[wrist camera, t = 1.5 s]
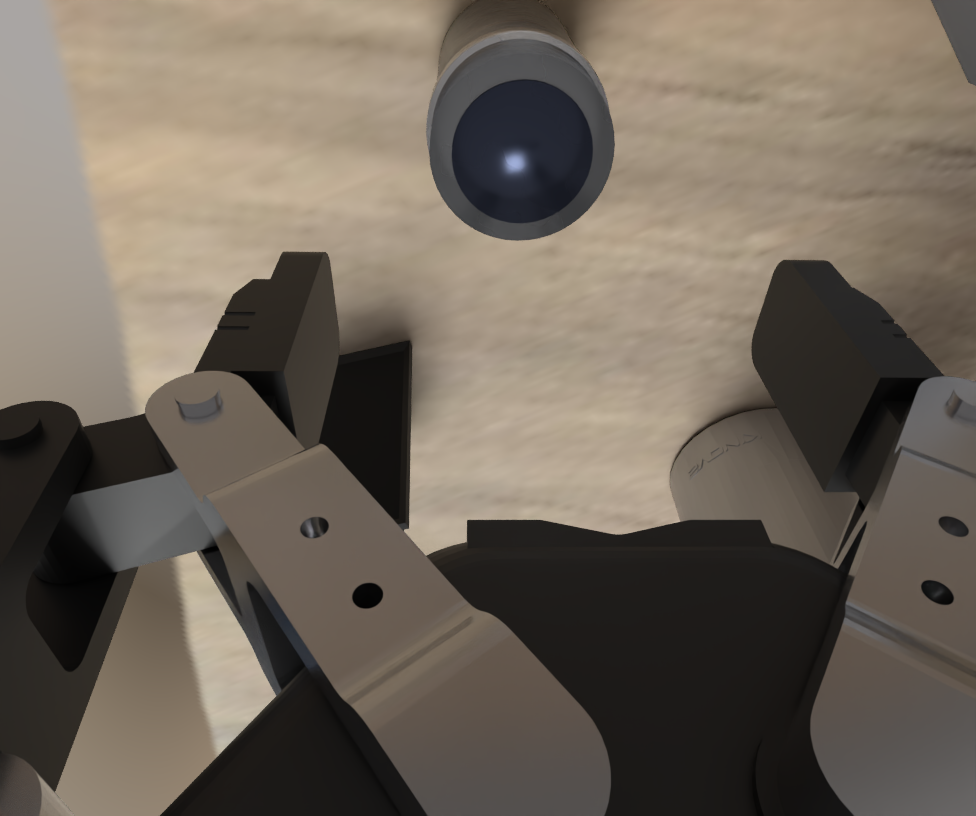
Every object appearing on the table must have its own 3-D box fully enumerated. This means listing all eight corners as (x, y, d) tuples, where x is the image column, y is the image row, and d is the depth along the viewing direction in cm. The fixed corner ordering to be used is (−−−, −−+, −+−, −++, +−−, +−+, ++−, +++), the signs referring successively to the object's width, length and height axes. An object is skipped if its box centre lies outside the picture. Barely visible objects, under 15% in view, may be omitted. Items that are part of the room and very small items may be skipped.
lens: (606, 73, 26) (660, 159, 19) (502, 170, 28) (514, 281, 21) (511, -50, 23) (531, -5, 16) (405, 67, 25) (381, 153, 18)
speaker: (289, 333, 32) (250, 513, 25) (413, 339, 33) (409, 516, 26) (300, 441, 38) (270, 616, 30) (406, 444, 38) (402, 616, 31)
